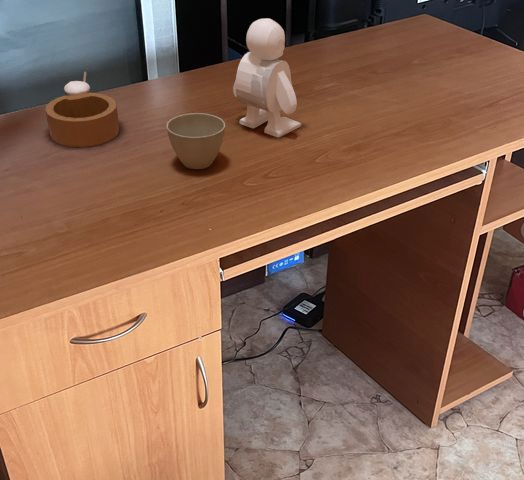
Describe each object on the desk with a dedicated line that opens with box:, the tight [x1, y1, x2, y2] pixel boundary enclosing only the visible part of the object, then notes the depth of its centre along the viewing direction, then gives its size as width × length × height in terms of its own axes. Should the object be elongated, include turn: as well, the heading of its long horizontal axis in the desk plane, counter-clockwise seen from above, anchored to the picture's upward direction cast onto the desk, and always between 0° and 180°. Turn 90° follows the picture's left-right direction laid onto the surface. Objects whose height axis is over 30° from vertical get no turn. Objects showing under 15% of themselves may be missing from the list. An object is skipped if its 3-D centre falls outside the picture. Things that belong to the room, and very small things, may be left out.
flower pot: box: [165, 112, 226, 170], centre depth 136 cm, size 10×10×7 cm
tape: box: [44, 92, 120, 148], centre depth 146 cm, size 13×13×5 cm
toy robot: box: [232, 18, 302, 138], centre depth 143 cm, size 14×9×20 cm, turn 51°
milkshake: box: [63, 71, 91, 118], centre depth 145 cm, size 4×5×10 cm
